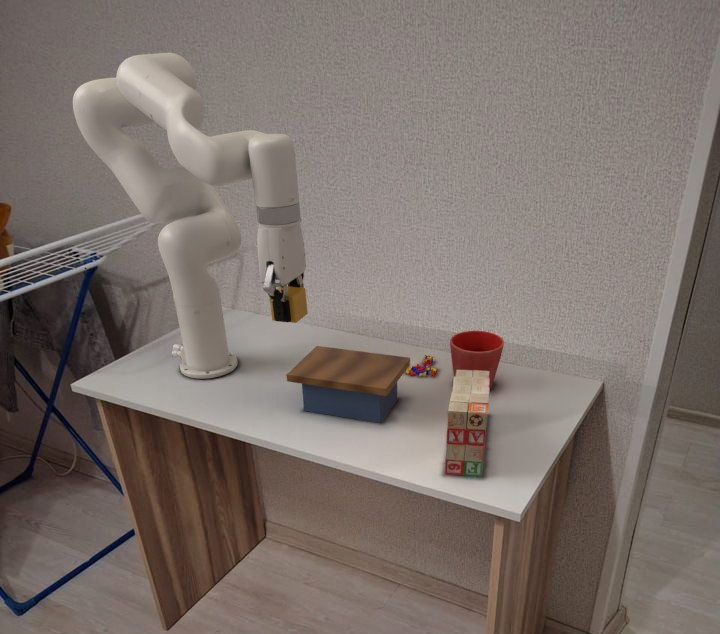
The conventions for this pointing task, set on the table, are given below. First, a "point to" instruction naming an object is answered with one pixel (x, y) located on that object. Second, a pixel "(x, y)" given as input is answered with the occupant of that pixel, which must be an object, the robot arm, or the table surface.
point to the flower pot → (476, 352)
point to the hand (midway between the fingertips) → (289, 314)
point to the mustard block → (294, 303)
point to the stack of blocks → (467, 423)
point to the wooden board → (349, 370)
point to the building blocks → (427, 361)
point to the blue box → (348, 402)
